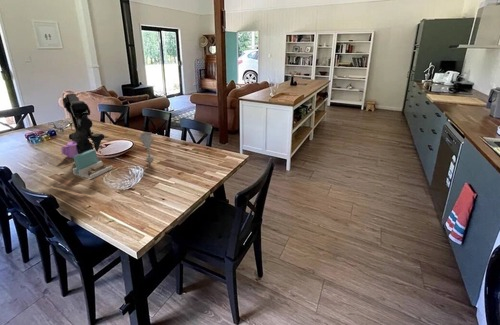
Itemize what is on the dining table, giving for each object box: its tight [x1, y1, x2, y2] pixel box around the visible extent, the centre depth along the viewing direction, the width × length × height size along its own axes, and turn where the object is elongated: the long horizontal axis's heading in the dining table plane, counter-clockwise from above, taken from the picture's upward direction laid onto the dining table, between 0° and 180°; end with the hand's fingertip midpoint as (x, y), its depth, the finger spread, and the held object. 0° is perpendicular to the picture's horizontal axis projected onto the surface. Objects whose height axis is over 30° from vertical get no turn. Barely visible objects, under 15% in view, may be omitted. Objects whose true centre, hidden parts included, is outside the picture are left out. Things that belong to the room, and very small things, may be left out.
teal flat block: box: [72, 149, 99, 174], centre depth 159 cm, size 3×12×11 cm, turn 157°
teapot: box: [60, 138, 90, 160], centre depth 184 cm, size 13×20×11 cm
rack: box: [72, 160, 114, 180], centre depth 159 cm, size 14×15×4 cm
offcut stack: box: [88, 164, 108, 176], centre depth 158 cm, size 5×10×4 cm, turn 157°
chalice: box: [139, 131, 155, 163], centre depth 174 cm, size 7×7×18 cm
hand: (90, 150), depth 158 cm, fingers open, 9 cm apart
